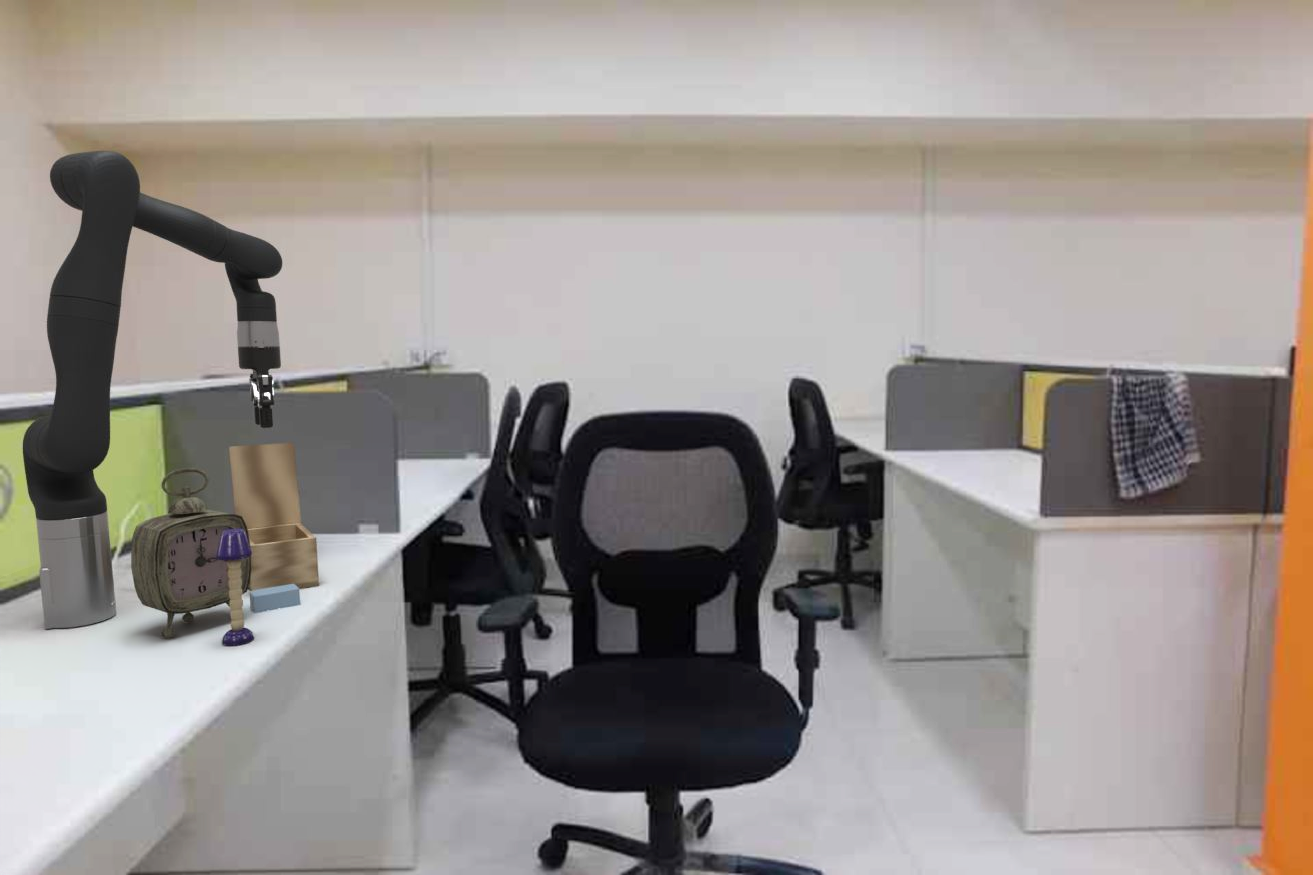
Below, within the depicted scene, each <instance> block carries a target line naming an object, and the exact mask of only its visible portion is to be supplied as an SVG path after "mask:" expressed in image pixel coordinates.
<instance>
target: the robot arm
mask: <svg viewBox="0 0 1313 875" xmlns="http://www.w3.org/2000/svg"><path fill="white" fill-rule="evenodd" d="M50 168H51V169H50V170H49V180H50V185H51V187H52V189H53V191H54V193H55V194H56V195H57V196H58V198H59V199H61V201H62V202H64V203H65V204H67V205H68V207H71V208H73V209H75V210H78V211H81V221H80V227H79V230H78V235H77V237H76V239H75V242H74V244H73V246H72V248H71V249H70V251H69V253H68V254H67V255H66V258H64V261H63V262H62V264H61V265H60V267H59V269H58V271H57V273H56V274H55V276H54V278H53V280H52V285H51V288H50V293H49V297H48V298H49V299H48V308H47V314H46V316H47V317H46V333H47V334H46V335H47V341H48V345H49V349H50V353H51V359H52V362H53V367H54V370H55V371H54V373H55V383H56V384H55V392H54V399H53V404H52V411H51V414H48V415H44V416H42V417H41V416H40V417H39V418H37V419H35V420H34V421H33V422H31V424H29V426H28V427H27V429H26V431H25V432H24V434H23V439H22V458H23V459H22V460H23V467H24V473H25V480H26V487H27V494H28V497H29V499H30V502H31V503H32V505H33V508H34V512H35V522H36V523H35V524H36V531H37V532H36V533H37V542H38V553H39V561H40V562H39V564H40V567H39V570H38V571H39V572H38V573H39V583H40V591H41V602H42V612H43V613H42V614H43V622H44V623H43V624H44V629H45V630H49V629H61V628H62V629H65V628H74V627H75V628H76V627H82V626H83V627H84V626H88V625H92V624H95V623H99V622H102V621H105V620H108V619H111V618H112V617H114V616H115V615H116V614H117V609H116V608H117V607H116V605H117V604H116V602H117V601H116V596H115V585H114V572H113V561H112V560H113V559H112V549H111V540H110V529H109V528H110V526H109V525H110V524H109V516H108V504H107V503H108V502H107V497H106V495H105V493H104V492H103V491H102V490H101V488H100V487H99V485H98V484H97V482H96V479H95V474H94V470H95V469H97V468H98V467H99V466H100V465H101V464H102V463H103V462H104V461H105V459H106V458H107V455H108V452H109V450H110V445H111V387H112V386H111V384H112V379H113V378H112V375H113V370H114V362H115V354H116V345H117V338H118V332H119V326H120V315H121V307H122V296H123V295H122V294H123V286H124V285H123V284H124V278H125V270H126V263H127V255H128V248H129V243H130V237H131V234H132V229H133V228H136V229H138V230H141V231H144V232H147V233H148V234H150V235H154V236H156V237H158V238H161V239H163V240H165V241H168V242H170V243H172V244H174V245H177V246H179V247H181V248H183V249H185V250H187V251H189V252H192V253H194V254H196V255H198V256H199V257H200V256H201V257H203V258H204V259H206V260H209V261H211V262H215V263H219V264H222V263H223V264H224V268H225V273H226V277H227V278H228V282H229V285H230V287H231V290H232V293H233V296H234V299H235V301H236V316H237V317H236V318H237V320H236V321H237V330H236V339H237V340H236V341H237V353H238V354H237V355H238V356H237V357H238V367H239V369H240V370H251V371H252V373H250V375H249V378H248V379H249V380H248V384H249V387H250V401H251V403H252V405H253V409H254V423H255V424H256V426H257V425H259V427H261V428H262V429H268V428H269V429H270V428H272V427H273V425H274V422H273V421H274V420H273V409H274V405H275V401H274V396H275V392H274V378H273V375H272V374H270V372H269V371H270V370H272V369H273V370H274V369H275V370H276V369H280V368H281V367H282V362H281V359H282V358H281V347H280V346H281V345H280V344H281V343H280V342H281V341H280V332H279V327H278V322H277V321H278V320H277V319H278V318H277V305H276V304H277V301H276V298H275V296H274V295H273V294H272V293H270V292H269V291H263V290H262V288H261V286H260V282H259V280H260V279H261V280H262V279H263V280H264V279H271V278H273V277H276V276H277V275H278V274H280V272H281V270H282V268H283V257H282V256H281V253H280V252H279V250H278V249H277V248H276V247H275V246H274V245H273V244H271V243H270V242H269V241H266V240H264V239H262V238H259V237H258V236H257V237H256V236H253V235H251V234H247V233H244V232H241V231H237V230H235V229H231V228H229V227H227V226H225V225H224V224H222V223H220V222H218V221H216V220H214V219H212V218H210V217H209V216H207V215H205V214H202V213H201V212H198V211H196V210H193V209H191V208H188V207H184V206H181V205H177V204H175V203H171V202H168V201H166V200H161V199H158V198H155V197H154V196H151V195H147V194H145V193H143V192H141V183H140V177H139V173H138V171H137V169H136V168H135V166H134V164H133V163H132V161H131V160H130V159H129V158H127V157H126V156H125V155H123V153H119V152H116V151H111V150H94V151H92V150H91V151H82V152H75V153H71V154H70V153H69V154H66V155H64V156H62V157H60V158H58V159H57V160H55V162H54V163H53V165H52V166H51V167H50Z"/></svg>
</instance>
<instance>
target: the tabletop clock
mask: <svg viewBox="0 0 1313 875" xmlns="http://www.w3.org/2000/svg"><path fill="white" fill-rule="evenodd" d="M184 473H197V474H200V475H201V476H203V478H204V480H205V481H204V483H203V484H202V485H201V486H199V487H196V488H194V489H191V487H190V486H189V485H184V486H183V487H182V488H181V489H182V490H181V491H172V490H169V489H167V488H166V483H167V481H168V480H169V479H171V477H173V476H175V475H180V474H184ZM209 480H210V479H209V476H208V474H207V472H205V471H204V470H202V469H200V468H197V467H185V468H178V469H173V471H170V472H169V473H167V474H166V475H165V476H164V477H163V479H162V481H161V485H160V486H161V489H162V490H163V492H164V493H165V494H167V495H169V496H174V497H179V498H177V499H175V500H174V501H173V502H172V503H171V505H169V507H168V512H167V513H166V514H163V515H158V516H155V517H152V518H149V519H146V520H144V521H141V522H140V523H138V524H137V525H136V526H135V528H134V531H133V534H132V536H131V537H132V538H131V545H130V546H131V548H130V550H131V551H130V553H131V554H130V558H131V560H130V562H131V563H130V568H131V574H132V578H133V584H134V585H133V586H134V589H135V592H136V593H135V594H136V596H137V598H138V600H139V601H140V604H142V606H144V607H147V608H150V609H151V608H152V609H153V610H157V611H161V612H163V613H166V615H167V619H166V627H164V628H163V629H162V630H161V636H162V638H165V639H169V638H172V637H173V636H174V635H175V629H174V628H173V627H172V625H173V621H174V619H175V618H174V617H175V615H183V616H182V618H181V619H182V621H183V622H184V623H185V624H190V623H192V622H193V620H194V619H195V616H194V614H193V612H198V611H202V610H207V609H211V608H214V607H217V606H220V605H223V604H226V605H227V606H228V608H230V605H229V603H230V600H231V599H230V597H229V590H230V588H229V585H228V581H229V579H230V578H229V577H228V570H229V568H228V565H227V561H228V560H227V561H226V560H218V559H217V558H216V555H217V550H218V545H219V541H220V537H221V533H222V532H223V531H225V530H230V529H243V530H244V531H245V533H246V536H247V539H248V542H249V545H250V540H249V534H248V530H247V526H246V523H245V521H244V520H243V518H242V516H239V515H235V513H234V514H233V513H229V512H223V511H217V510H212V509H207V508H208V507H207V505H206V503H205V502H204V501H203V500H202V499H201V498H200V497H196V496H192V495H195V494H198V493H200V492H201V491H203V490H204V489H205V488H206V487H207V486H208V484H209ZM250 548H251V547H250ZM240 569H241V577H240V578H241V580H242V585H241V589H242V592H243V593H242V596H243V595H244V594H245V593H248V591H249V589H248V587H249V584H250V578H251V556H250V557H248V558H244V559H241V565H240Z"/></svg>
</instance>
